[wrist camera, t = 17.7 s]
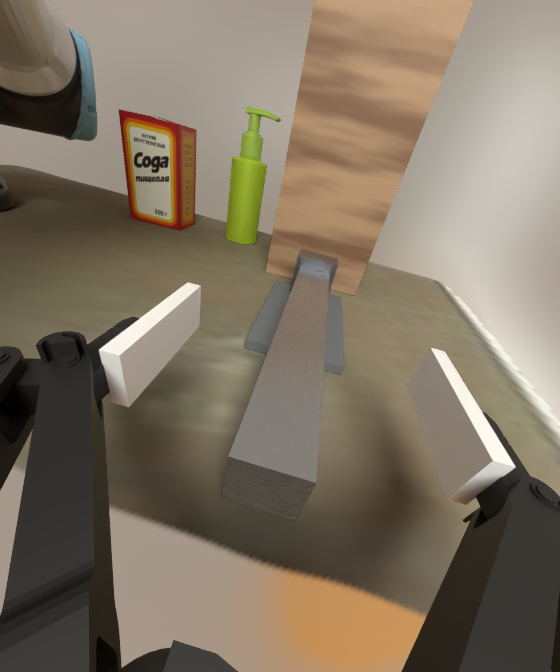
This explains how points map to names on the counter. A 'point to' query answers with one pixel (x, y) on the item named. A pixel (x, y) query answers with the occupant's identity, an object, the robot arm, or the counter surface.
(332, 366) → the base plate
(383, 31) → the brown wooden block
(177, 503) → the counter surface
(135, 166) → the baking soda box
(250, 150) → the soap dispenser
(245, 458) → the pin
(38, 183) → the counter surface
